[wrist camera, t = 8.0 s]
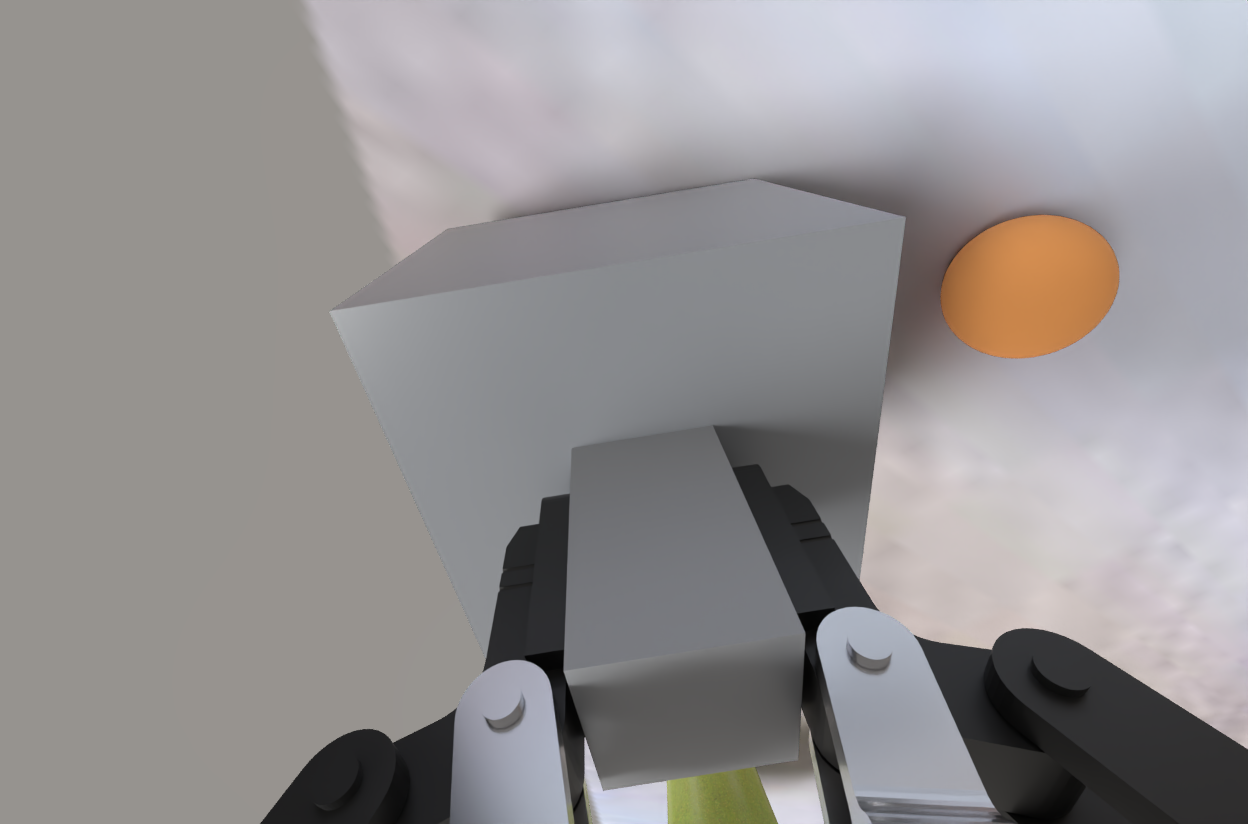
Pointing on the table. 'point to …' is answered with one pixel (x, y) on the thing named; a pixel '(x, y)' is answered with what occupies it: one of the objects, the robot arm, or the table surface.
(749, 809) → the plant pot
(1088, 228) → the ball
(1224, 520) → the table surface
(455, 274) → the grey block with knob
